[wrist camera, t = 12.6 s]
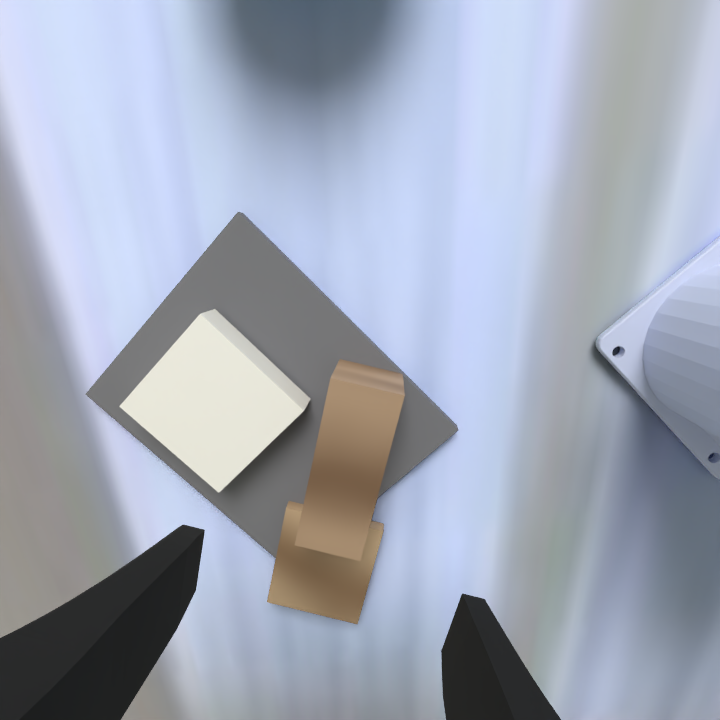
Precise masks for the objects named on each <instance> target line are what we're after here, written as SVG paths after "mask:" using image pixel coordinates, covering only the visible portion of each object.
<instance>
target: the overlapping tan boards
mask: <svg viewBox="0 0 720 720" xmlns="http://www.w3.org/2000/svg"><path fill="white" fill-rule="evenodd" d="M404 397H405V393H404V381H403V374H401V373H397V372H393V371H389V370H384V369H380V368H376V367H372V366H367V365H363V364H359V363H355V362H350V361H346V360H342V359H339V361H338V364H337V366H336V368H335V370H334V372H333V374H332V376H331V378H330V382H329V387H328V392H327V396H326V401H325V406H324V410H323V415H322V420H321V424H320V429H319V434H318V438H317V443H316V448H315V452H314V457H313V462H312V466H311V471H310V476H309V480H308V485H307V490H306V494H305V499H304V504H300V503H296V502H292V501H289V502H288V504H287V507H286V511H285V516H284V521H283V525H282V530H281V535H280V540H279V545H278V550H277V555H276V560H275V565H274V570H273V575H272V580H271V585H270V590H269V595H268V600H267V602H269V603H273V604H277V605H281V606H285V607H289V608H293V609H297V610H301V611H305V612H310V613H314V614H318V615H322V616H326V617H330V618H334V619H338V620H342V621H346V622H350V623H354V624H358V620H359V617H360V613H361V610H362V606H363V602H364V599H365V595H366V592H367V588H368V584H369V581H370V577H371V574H372V570H373V567H374V563H375V559H376V556H377V552H378V549H379V545H380V542H381V538H382V534H383V527H384V524H383V523H379V522H375V521H371V520H372V516H373V512H374V508H375V505H376V501H377V497H378V494H379V490H380V486H381V482H382V479H383V475H384V471H385V467H386V464H387V460H388V456H389V453H390V449H391V445H392V441H393V438H394V434H395V430H396V426H397V423H398V419H399V415H400V412H401V408H402V404H403V400H404Z"/></svg>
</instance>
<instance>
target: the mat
mask: <svg viewBox="0 0 720 720" xmlns="http://www.w3.org/2000/svg"><path fill="white" fill-rule="evenodd" d="M213 309H216V310H217V311H218V312H219V313H220V314H221V315H222V316H223V317H224V318H225V319H226V320H227V321H228V322H230V323H231V324H232V325H233V326H234V327H235V328H236V329H237V330H238V331H239V332H240V333H241V334H242V335H243V336H244V337H245V338H247V339H248V340H249V341H250V342H251V343H252V344H253V345H254V346H255V347H256V348H257V349H258V350H259V351H260V352H261V353H262V354H264V355H265V356H266V357H267V358H268V359H269V360H270V361H271V362H272V363H273V364H274V365H275V366H276V367H277V368H278V369H279V370H280V371H282V372H283V373H284V374H285V375H286V376H287V377H288V378H289V379H290V380H291V381H292V382H293V383H294V384H295V385H296V386H297V387H299V388H300V389H301V390H302V391H303V392H304V393H305V394H306V395H307V396H308V397H309V398H310V401H309V403H308V405H307V406H306V408H305V410H304V411H303V412H302V413H301V414H300V415H299V416H298V417H297V418H296V419H295V420H294V421H293V422H292V423H291V424H290V425H289V426H288V427H287V428H286V429H285V430H284V431H283V432H281V433H280V434H279V435H278V436H277V437H276V438H275V439H274V440H273V441H272V442H271V443H270V444H269V445H268V446H267V447H266V448H265V449H264V450H263V451H262V452H261V453H260V454H259V455H258V456H257V457H256V458H255V459H253V460H252V461H251V462H250V463H249V464H248V465H247V466H246V467H245V468H244V469H243V470H242V471H241V472H240V473H239V474H238V475H237V476H236V477H235V478H234V479H233V480H232V481H231V482H230V483H229V484H228V485H227V486H226V487H224V488H223V489H222V490H221V491H220V492H219V493H218V492H217V491H216V490H215V489H214V488H213V487H211V486H210V485H209V484H208V483H207V482H206V481H205V480H203V479H202V478H201V477H200V476H199V475H198V474H196V473H195V472H194V471H193V470H192V469H191V468H190V467H188V466H187V465H186V464H185V463H184V462H183V461H181V460H180V459H179V458H178V457H177V456H176V455H175V454H173V453H172V452H171V451H170V450H169V449H168V448H166V447H165V446H164V445H163V444H162V443H161V442H160V441H158V440H157V439H156V438H155V437H154V436H153V435H152V434H150V433H149V432H148V431H147V430H146V429H145V428H143V427H142V426H141V425H140V424H139V423H138V422H137V421H135V420H134V419H133V418H132V417H131V416H130V415H128V414H127V413H126V412H125V411H124V410H123V409H122V408H120V407H119V406H120V405H121V404H122V403H123V402H124V400H125V399H126V398H127V397H128V396H129V395H130V393H131V392H132V391H133V390H134V389H135V388H136V387H137V385H138V384H139V383H140V382H141V381H142V380H143V379H144V377H145V376H146V375H147V374H148V373H149V372H150V371H151V369H152V368H153V367H154V366H155V365H156V364H157V363H158V361H159V360H160V359H161V358H162V357H163V356H164V355H165V353H166V352H167V351H168V350H169V349H170V348H171V347H172V345H173V344H174V343H175V342H176V341H177V340H178V339H179V337H180V336H181V335H182V334H183V333H184V332H185V331H186V329H187V328H188V327H189V326H190V325H191V324H192V323H193V321H194V320H195V319H196V318H197V317H198V316H199V315H200V314H201V313H204V312H207V311H210V310H213ZM339 359H342V360H346V361H350V362H355V363H359V364H363V365H367V366H372V367H376V368H380V369H384V370H389V371H393V372H397V373H401V374H403V381H404V393H405V397H404V400H403V404H402V408H401V412H400V415H399V419H398V423H397V426H396V430H395V434H394V438H393V441H392V445H391V449H390V453H389V456H388V460H387V464H386V467H385V471H384V475H383V479H382V482H381V486H380V490H379V494H378V497H379V496H381V495H382V494H383V493H384V492H385V491H387V490H388V489H389V488H390V487H391V486H392V485H394V484H395V483H396V482H397V481H398V480H400V479H401V478H402V477H403V476H404V475H406V474H407V473H408V472H409V471H410V470H411V469H413V468H414V467H415V466H416V465H417V464H419V463H420V462H421V461H422V460H423V459H425V458H426V457H427V456H428V455H429V454H431V453H432V452H433V451H434V450H435V449H436V448H438V447H439V446H440V445H441V444H442V443H444V442H445V441H446V440H447V439H448V438H450V437H451V436H452V435H453V434H454V433H455V432H457V431H458V428H457V425H456V424H455V423H454V422H453V421H452V420H451V419H450V418H449V417H448V416H447V415H446V414H445V413H444V412H443V411H442V410H441V409H440V408H439V407H438V406H437V405H436V404H435V403H434V402H433V401H432V400H431V399H430V398H429V397H428V396H427V395H426V394H425V393H424V392H423V391H422V390H421V389H420V388H419V387H418V386H417V385H416V384H415V383H414V382H413V381H412V380H411V379H410V378H409V377H408V376H407V375H406V374H405V373H404V372H403V371H402V370H401V369H400V368H399V367H398V366H397V365H396V364H394V363H393V362H392V361H391V360H390V359H389V358H388V357H387V356H386V355H385V354H384V353H383V352H382V351H381V350H380V349H379V348H378V347H377V346H376V345H375V344H374V343H373V342H372V341H371V340H370V339H369V338H368V337H367V336H366V335H365V334H364V333H363V332H362V331H361V330H360V329H359V328H358V327H357V326H356V325H355V324H354V323H353V322H352V321H351V320H350V319H349V318H348V317H347V316H346V315H345V314H344V313H343V312H342V311H341V310H340V309H339V308H338V307H337V306H336V305H335V304H334V303H333V302H332V301H331V300H330V299H329V298H328V297H327V296H326V295H325V294H324V293H323V292H322V291H321V290H320V289H319V288H318V287H317V286H316V285H315V284H314V283H313V282H312V281H311V280H310V279H309V278H308V277H307V276H306V275H305V274H304V273H303V272H302V271H301V270H300V269H299V268H298V267H297V266H296V265H295V264H294V263H293V262H292V261H291V260H290V259H289V258H288V257H287V256H286V255H285V254H284V253H283V252H282V251H281V250H280V249H279V248H278V247H277V246H276V245H274V244H273V243H272V242H271V241H270V240H269V239H268V238H267V237H266V236H265V235H264V234H263V233H262V232H261V231H260V230H259V229H258V228H257V227H256V226H255V225H254V224H253V223H252V222H251V221H250V220H249V219H248V218H247V217H246V216H245V215H244V214H243V213H240V212H238V213H237V214H236V215H235V216H234V217H233V219H232V220H231V221H230V222H229V223H228V225H227V226H226V227H225V228H224V229H223V231H222V232H221V233H220V234H219V235H218V236H217V238H216V239H215V240H214V241H213V242H212V244H211V245H210V246H209V247H208V248H207V250H206V251H205V252H204V253H203V254H202V256H201V257H200V258H199V259H198V260H197V262H196V263H195V264H194V265H193V266H192V268H191V269H190V270H189V271H188V272H187V274H186V275H185V276H184V277H183V278H182V280H181V281H180V282H179V283H178V284H177V286H176V287H175V288H174V289H173V290H172V291H171V293H170V294H169V295H168V296H167V297H166V299H165V300H164V301H163V302H162V303H161V305H160V306H159V307H158V308H157V309H156V311H155V312H154V313H153V314H152V315H151V317H150V318H149V319H148V320H147V321H146V323H145V324H144V325H143V326H142V327H141V329H140V330H139V331H138V332H137V333H136V335H135V336H134V337H133V338H132V339H131V340H130V342H129V343H128V344H127V345H126V346H125V348H124V349H123V350H122V351H121V352H120V354H119V355H118V356H117V357H116V358H115V360H114V361H113V362H112V363H111V364H110V366H109V367H108V368H107V369H106V370H105V372H104V373H103V374H102V375H101V376H100V378H99V379H98V380H97V381H96V382H95V384H94V385H93V386H92V387H91V388H90V389H89V391H88V392H87V393H86V395H87V396H88V397H89V398H90V399H92V400H93V401H94V402H95V403H96V404H97V405H99V406H100V407H101V408H102V409H103V410H104V411H105V412H107V413H108V414H109V415H110V416H111V417H112V418H114V419H115V420H116V421H117V422H118V423H119V424H121V425H122V426H123V427H124V428H125V429H126V430H128V431H129V432H130V433H131V434H132V435H133V436H134V437H136V438H137V439H138V440H139V441H140V442H141V443H143V444H144V445H145V446H146V447H147V448H148V449H150V450H151V451H152V452H153V453H154V454H155V455H157V456H158V457H159V458H160V459H161V460H162V461H164V462H165V463H166V464H167V465H168V466H169V467H170V468H172V469H173V470H174V471H175V472H176V473H177V474H179V475H180V476H181V477H182V478H183V479H184V480H186V481H187V482H188V483H189V484H190V485H191V486H193V487H194V488H195V489H196V490H197V491H198V492H199V493H201V494H202V495H203V496H204V497H205V498H206V499H208V500H209V501H210V502H211V503H212V504H213V505H215V506H216V507H217V508H218V509H219V510H220V511H222V512H223V513H224V514H225V515H226V516H227V517H229V518H230V519H231V520H232V521H233V522H234V523H235V524H237V525H238V526H239V527H240V528H241V529H242V530H244V531H245V532H246V533H247V534H248V535H249V536H251V537H252V538H253V539H254V540H255V541H256V542H258V543H259V544H260V545H261V546H262V547H263V548H265V549H266V550H267V551H268V552H269V553H270V554H271V555H273V556H274V557H275V558H276V555H277V550H278V545H279V540H280V535H281V530H282V525H283V521H284V516H285V511H286V507H287V504H288V502H289V501H292V502H296V503H300V504H304V499H305V494H306V490H307V485H308V480H309V476H310V471H311V466H312V462H313V457H314V452H315V448H316V443H317V438H318V434H319V429H320V424H321V420H322V415H323V410H324V406H325V401H326V396H327V392H328V387H329V382H330V378H331V376H332V374H333V372H334V370H335V368H336V366H337V364H338V361H339ZM378 497H377V498H378Z"/></svg>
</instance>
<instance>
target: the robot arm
mask: <svg viewBox="0 0 720 720" xmlns="http://www.w3.org/2000/svg"><path fill="white" fill-rule="evenodd" d="M617 346H619V347H620V352H619V353H618V354H617V355H615V356H613V354H612V351H613V349H614V348H615V347H617ZM596 347H597V349H598V351H599V352H600V353H601V354H602V355H603V356H604V357H605V358H606V359H607V360H608V362H609V363H610V364H611V365H612V366H613V367H614V368H615V369H616V370H617V371H618V372H619V374H620V375H621V376H622V377H623V378H624V379H625V380H626V381H627V382H628V383H629V385H630V386H631V387H632V388H633V389H634V390H635V391H636V392H637V393H638V394H639V395H640V397H641V398H642V399H643V400H644V401H645V402H646V403H647V404H648V405H649V406H650V408H651V409H652V410H653V411H654V412H655V413H656V414H657V415H658V416H659V417H660V418H661V420H662V421H663V422H664V423H665V424H666V425H667V426H668V427H669V428H670V429H671V431H672V432H673V433H674V434H675V435H676V436H677V437H678V438H679V439H680V440H681V441H682V443H683V444H684V445H685V446H686V447H687V448H688V449H689V450H690V451H691V452H692V454H693V455H694V456H695V457H696V458H697V459H698V460H699V461H700V462H701V463H702V464H703V466H704V467H705V468H706V469H707V470H708V471H709V472H710V473H711V474H712V475H713V476H714V477H716V478H717V479H719V480H720V236H719V237H718V238H717V239H715V240H714V241H713V242H712V243H710V244H709V245H708V246H707V247H706V248H704V249H703V250H702V251H701V252H700V253H698V254H697V255H696V256H695V257H694V258H692V259H691V260H690V261H689V262H687V263H686V264H685V265H684V266H683V267H681V268H680V269H679V270H678V271H677V272H675V273H674V274H673V275H672V276H670V277H669V278H668V279H667V280H666V281H664V282H663V283H662V284H661V285H660V286H658V287H657V288H656V289H655V290H654V291H652V292H651V293H650V294H649V295H647V296H646V297H645V298H644V299H643V300H641V301H640V302H639V303H638V304H637V305H635V306H634V307H633V308H632V309H630V310H629V311H628V312H627V313H626V314H624V315H623V316H622V317H621V318H620V319H618V320H617V321H616V322H615V323H614V324H612V325H611V326H610V327H609V328H607V329H606V330H605V331H604V332H603V333H601V334H600V335H599V336H598V338H597V340H596ZM712 453H714V455H713V456H712V458H709V459H708V457H709V456H710V454H712ZM204 531H205V530H203V529H199V528H195V527H191V526H187V525H182V526H180V527H178V528H177V529H176V530H174V531H173V532H171V533H170V534H169V535H167V536H166V537H165V538H163V539H162V540H161V541H159V542H158V543H156V544H155V545H154V546H152V547H151V548H149V549H148V550H147V551H145V552H144V553H142V554H141V555H140V556H138V557H137V558H135V559H134V560H132V561H131V562H129V563H128V564H126V565H125V566H123V567H122V568H121V569H119V570H118V571H116V572H115V573H113V574H112V575H110V576H109V577H107V578H106V579H104V580H102V581H101V582H99V583H98V584H96V585H94V586H93V587H91V588H90V589H88V590H86V591H85V592H83V593H82V594H80V595H78V596H77V597H75V598H73V599H72V600H70V601H68V602H67V603H65V604H63V605H62V606H60V607H58V608H56V609H55V610H53V611H51V612H49V613H48V614H46V615H44V616H42V617H40V618H38V619H37V620H35V621H33V622H31V623H29V624H27V625H25V626H23V627H22V628H20V629H18V630H16V631H14V632H12V633H10V634H8V635H6V636H4V637H2V638H0V720H121V718H122V717H123V715H124V713H125V712H126V710H127V709H128V707H129V705H130V704H131V702H132V701H133V699H134V697H135V696H136V694H137V693H138V691H139V689H140V688H141V686H142V685H143V683H144V681H145V680H146V678H147V677H148V675H149V673H150V672H151V670H152V668H153V667H154V665H155V664H156V662H157V660H158V659H159V657H160V656H161V654H162V652H163V651H164V649H165V647H166V646H167V644H168V643H169V641H170V639H171V638H172V636H173V634H174V633H175V631H176V629H177V628H178V626H179V624H180V622H181V620H182V618H183V616H184V614H185V612H186V609H187V607H188V605H189V603H190V601H191V599H192V597H193V595H194V593H195V591H196V586H197V579H198V572H199V565H200V559H201V552H202V545H203V538H204ZM441 652H442V683H443V699H444V707H445V714H446V720H561V719H560V717H559V716H558V715H557V713H556V712H555V710H554V709H553V707H552V706H551V705H550V703H549V702H548V700H547V699H546V697H545V696H544V694H543V693H542V691H541V690H540V688H539V687H538V685H537V684H536V682H535V681H534V679H533V678H532V676H531V675H530V673H529V671H528V670H527V668H526V667H525V665H524V664H523V662H522V660H521V659H520V657H519V656H518V654H517V652H516V651H515V649H514V647H513V646H512V644H511V643H510V641H509V639H508V638H507V636H506V634H505V633H504V631H503V629H502V628H501V626H500V624H499V623H498V621H497V619H496V618H495V616H494V614H493V613H492V611H491V609H490V608H489V606H488V604H487V603H486V601H485V599H482V598H478V597H474V596H470V595H466V594H462V596H461V598H460V601H459V604H458V607H457V609H456V612H455V615H454V618H453V621H452V623H451V626H450V629H449V632H448V634H447V637H446V640H445V643H444V645H443V648H442V651H441Z"/></svg>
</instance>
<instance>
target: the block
mask: <svg viewBox="0 0 720 720" xmlns="http://www.w3.org/2000/svg"><path fill="white" fill-rule="evenodd" d="M309 401H310V398H309V397H308V396H307V395H306V394H305V393H304V392H303V391H302V390H301V389H300V388H299V387H297V386H296V385H295V384H294V383H293V382H292V381H291V380H290V379H289V378H288V377H287V376H286V375H285V374H284V373H283V372H282V371H280V370H279V369H278V368H277V367H276V366H275V365H274V364H273V363H272V362H271V361H270V360H269V359H268V358H267V357H266V356H265V355H264V354H262V353H261V352H260V351H259V350H258V349H257V348H256V347H255V346H254V345H253V344H252V343H251V342H250V341H249V340H248V339H247V338H245V337H244V336H243V335H242V334H241V333H240V332H239V331H238V330H237V329H236V328H235V327H234V326H233V325H232V324H231V323H230V322H228V321H227V320H226V319H225V318H224V317H223V316H222V315H221V314H220V313H219V312H218V311H217V310H216V309H213V310H210V311H207V312H204V313H201V314H200V315H199V316H198V317H197V318H196V319H195V320H194V321H193V323H192V324H191V325H190V326H189V327H188V328H187V329H186V331H185V332H184V333H183V334H182V335H181V336H180V337H179V339H178V340H177V341H176V342H175V343H174V344H173V345H172V347H171V348H170V349H169V350H168V351H167V352H166V353H165V355H164V356H163V357H162V358H161V359H160V360H159V361H158V363H157V364H156V365H155V366H154V367H153V368H152V369H151V371H150V372H149V373H148V374H147V375H146V376H145V377H144V379H143V380H142V381H141V382H140V383H139V384H138V385H137V387H136V388H135V389H134V390H133V391H132V392H131V393H130V395H129V396H128V397H127V398H126V399H125V400H124V402H123V403H122V404H121V405H120V406H119V407H120V408H122V409H123V410H124V411H125V412H126V413H127V414H128V415H130V416H131V417H132V418H133V419H134V420H135V421H137V422H138V423H139V424H140V425H141V426H142V427H143V428H145V429H146V430H147V431H148V432H149V433H150V434H152V435H153V436H154V437H155V438H156V439H157V440H158V441H160V442H161V443H162V444H163V445H164V446H165V447H166V448H168V449H169V450H170V451H171V452H172V453H173V454H175V455H176V456H177V457H178V458H179V459H180V460H181V461H183V462H184V463H185V464H186V465H187V466H188V467H190V468H191V469H192V470H193V471H194V472H195V473H196V474H198V475H199V476H200V477H201V478H202V479H203V480H205V481H206V482H207V483H208V484H209V485H210V486H211V487H213V488H214V489H215V490H216V491H217V492H218V493H219V492H220V491H221V490H222V489H223V488H224V487H226V486H227V485H228V484H229V483H230V482H231V481H232V480H233V479H234V478H235V477H236V476H237V475H238V474H239V473H240V472H241V471H242V470H243V469H244V468H245V467H246V466H247V465H248V464H249V463H250V462H251V461H252V460H253V459H255V458H256V457H257V456H258V455H259V454H260V453H261V452H262V451H263V450H264V449H265V448H266V447H267V446H268V445H269V444H270V443H271V442H272V441H273V440H274V439H275V438H276V437H277V436H278V435H279V434H280V433H281V432H283V431H284V430H285V429H286V428H287V427H288V426H289V425H290V424H291V423H292V422H293V421H294V420H295V419H296V418H297V417H298V416H299V415H300V414H301V413H302V412H303V411H304V410H305V408H306V406H307V405H308V403H309Z"/></svg>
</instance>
